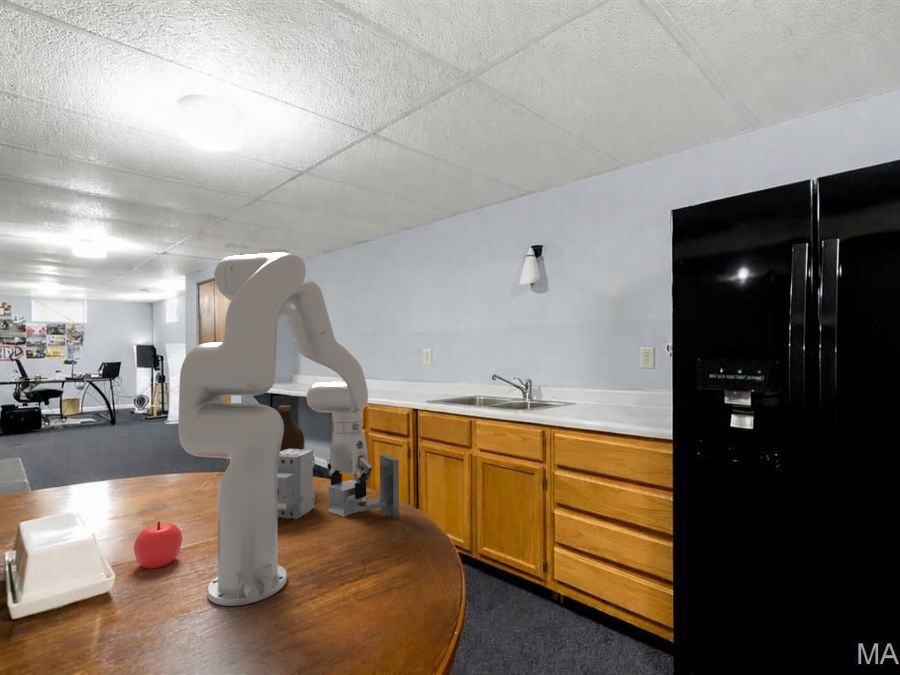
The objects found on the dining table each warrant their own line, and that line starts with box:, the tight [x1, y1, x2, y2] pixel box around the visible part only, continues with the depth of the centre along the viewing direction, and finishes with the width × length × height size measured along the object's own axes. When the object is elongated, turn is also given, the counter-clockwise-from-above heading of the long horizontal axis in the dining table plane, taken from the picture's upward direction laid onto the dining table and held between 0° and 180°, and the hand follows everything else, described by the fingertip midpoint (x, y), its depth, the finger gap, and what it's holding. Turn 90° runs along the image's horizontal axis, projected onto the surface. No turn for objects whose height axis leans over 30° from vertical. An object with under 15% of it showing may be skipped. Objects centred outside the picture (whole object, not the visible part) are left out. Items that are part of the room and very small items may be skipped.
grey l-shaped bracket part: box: [356, 454, 400, 519], centre depth 111 cm, size 7×9×14 cm
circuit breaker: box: [277, 448, 316, 520], centre depth 112 cm, size 8×14×15 cm, turn 166°
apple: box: [133, 520, 183, 570], centre depth 88 cm, size 8×8×8 cm
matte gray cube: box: [328, 479, 367, 518], centre depth 116 cm, size 7×6×6 cm
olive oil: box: [277, 404, 305, 452], centre depth 130 cm, size 11×11×25 cm
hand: (348, 493), depth 117 cm, fingers open, 9 cm apart
